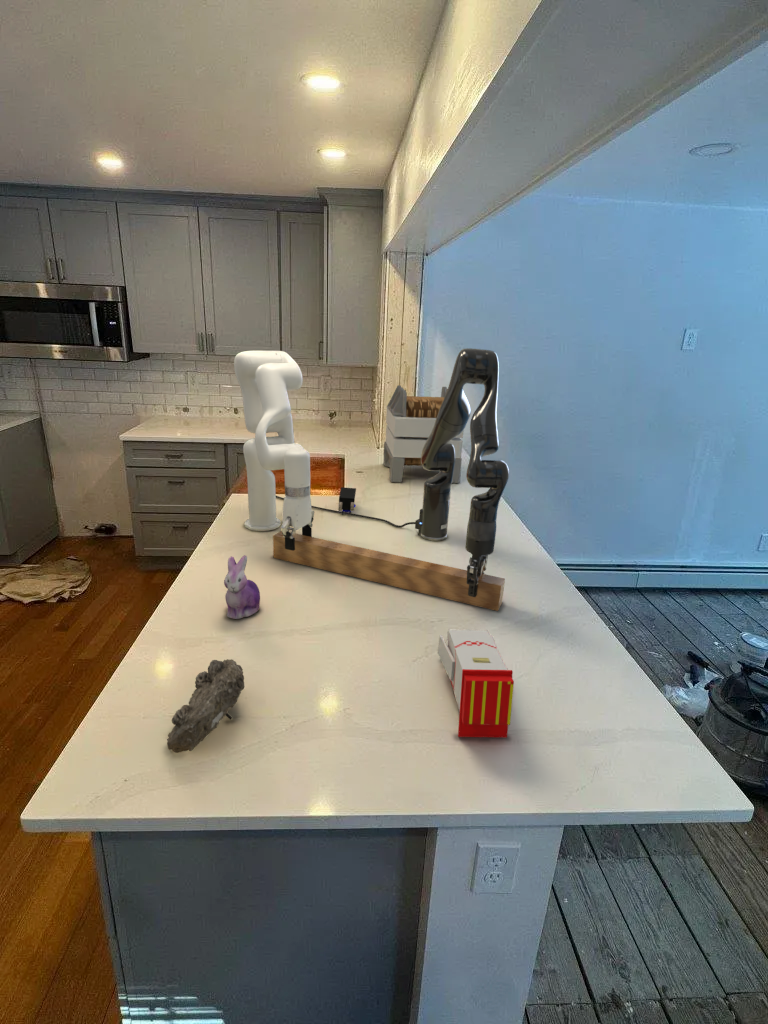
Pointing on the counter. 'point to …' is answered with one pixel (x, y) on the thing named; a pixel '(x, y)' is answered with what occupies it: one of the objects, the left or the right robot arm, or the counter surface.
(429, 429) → the grey storage crate
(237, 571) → the figurine
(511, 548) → the counter surface
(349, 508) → the figurine character
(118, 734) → the counter surface
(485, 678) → the toy
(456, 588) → the post
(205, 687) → the fossil
